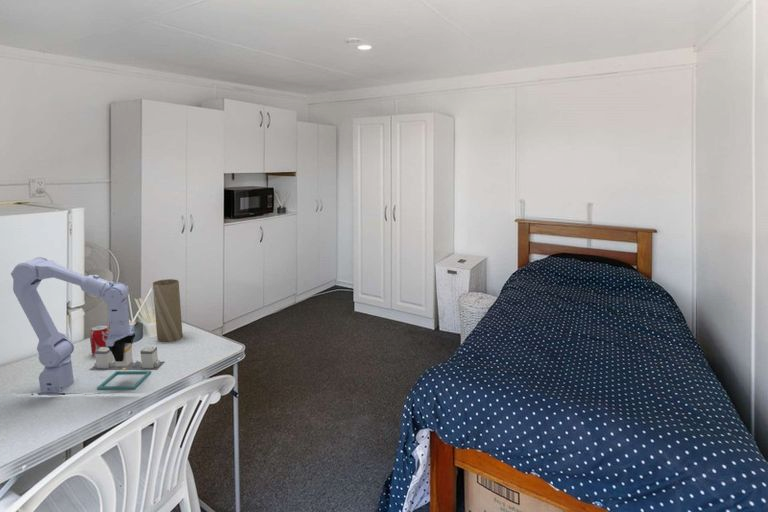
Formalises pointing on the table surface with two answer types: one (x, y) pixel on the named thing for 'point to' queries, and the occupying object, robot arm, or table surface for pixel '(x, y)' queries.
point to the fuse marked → (125, 356)
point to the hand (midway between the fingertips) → (122, 358)
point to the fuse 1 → (103, 357)
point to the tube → (167, 310)
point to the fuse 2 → (149, 357)
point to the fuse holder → (129, 366)
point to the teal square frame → (103, 387)
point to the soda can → (98, 337)
